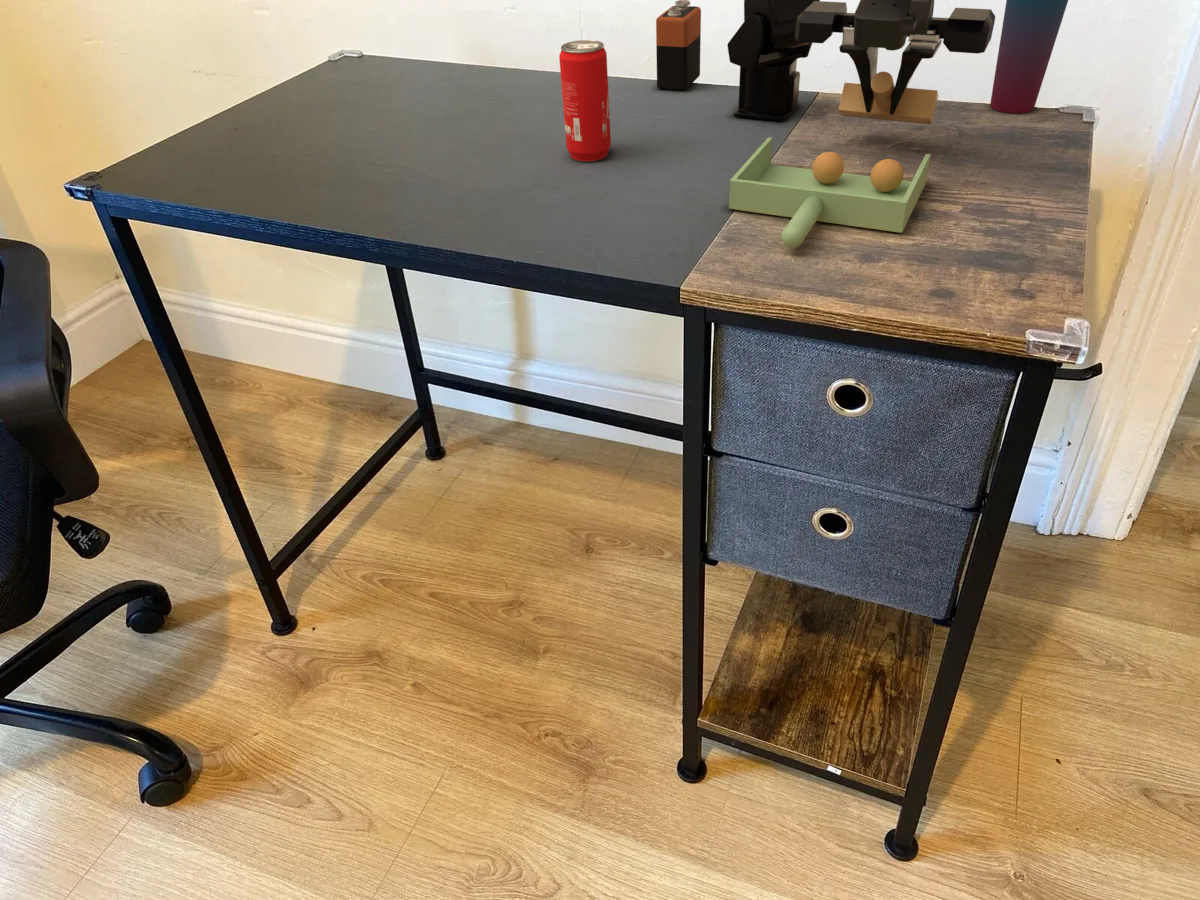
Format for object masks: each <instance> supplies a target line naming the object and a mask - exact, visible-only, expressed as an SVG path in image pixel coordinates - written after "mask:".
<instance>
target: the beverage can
mask: <svg viewBox="0 0 1200 900" xmlns="http://www.w3.org/2000/svg"><path fill="white" fill-rule="evenodd" d="M607 55H608V54H607V51H606V49H605V43H604V42H602V41H599V40H595V39H580V40H573V41H569V42H565V43H563V44H562V45H560V52H559V55H558V58H559V59H558V60H559V70H560V83H561V85H560V86H561V96H562V109H563V122H564V133H565V145H566V150H567V151H568V153H569V156H570V158H571V159H572V160H574V161H576V162H580V163H592V162H597V161H601V160H603V159H605V158H608V156H609V150H610V148H611V146H612V139H611V135H612V134H611V117H610V99H609V98H610V97H609V75H608V58H607V57H608V56H607Z"/></svg>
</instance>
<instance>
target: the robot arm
mask: <svg viewBox="0 0 1200 900" xmlns="http://www.w3.org/2000/svg"><path fill="white" fill-rule="evenodd" d="M934 8H935V0H859V2H858V4H857V7H856V9H855V12H848V5H847V1H845V2H843V1H824V0H823V1H822V0H743V22H742V24H740V27H739V28H738V29H737V30H736V32H735V33H734V34H733V36H732V37H731V39H730V40H729V42H727V52H728V59H729V62H730V64H733V65H736V66H739V82H738V83H739V84H738V106H737V108H736V109H734V111H733V116H734V117H738V118H748V119H756V120H767V121H777V122H782V121H785V120H786V119H787V117H789V115H790V114H791V113H792V112H793V111H794V110H795V108H797V106H798V105H799V93H800V81H801V72H800V71H798V70H797V64H798V59H801V58H802V59H805V58H808V57H809V55H810V51H811V48H812V45H813V44H824V43H825V42H826V41H827V40H829V39H830V38H831V37H832V36H833V34H834V33H838V34H842V40H841V41H842V42H841V45H840V46H839V52H840V53H842V54H847V55H848V56H849V58H850V59H851V60H852V61H853V64H854V66H855V69H856V72H857V75H858V79H859V84H861V89H862V94H863V98H864V103H865V108H866V112H871V110H872V107H873V102H874V94H873V91H872V88H871V80H872V78H873V77H874V76H875V75H876V74H877V73H878V72H877V71H878V60H879V59H878V58H879V49H885V50H886V51H898V50H901V49H903V47H904V46H905V45H906V41H907V38H908V42H909V43H908V44H907V46H906V47H905V49H904V50H903V51H902V53H901V60H900V66H899V70H898V73H897V78H896V81H895V83H894V86H895V88H894V92H893V96H892V99H891V106H890V114H892V115H893V114H894V113H895V111H896V109H897V107H898V105H899V102H900V100H901V98H902V96H903V94H904V92H905V90H906V88H908V86H909V84H910V82H911V79H912V78H913V75H914V74H915V72H916V70H917V68H918V66H919V65H920V64H921V62H922V60H923V59H927V60H928V59H932V58H934V57H935V55H936V54H937V52H938V50H939V49H940V47H941V45H942V43H943V45H944V46H945V48H946V49H947V50H948V52H949V53H963V54H983V53H985V52H986V50H987V48H988V46H989V44H990V43H991V40H992V35H993V31H994V26H995V21H996V14H995V13H994V12H993V10H992V8H991V9H990V8H974V7H973V8H968V7H955V8H954V9H953V11H952V12H951V14H950V15H949V17H939V16H938V17H936V16H934Z"/></svg>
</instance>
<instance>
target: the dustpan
mask: <svg viewBox="0 0 1200 900" xmlns="http://www.w3.org/2000/svg"><path fill="white" fill-rule="evenodd" d="M773 139H774V138H773V137H770V136H768V137H767V138H766V139H765V140H764V141H763V143H762V144H761V145H760V146H759V147H758V148H757V149H756V150H755V152H753V154H752V155H751V156H750V157H749V158H748V159H747V160H746V162H745V163H744V164H743V165H742V166H741V167H740V168H739V170H738V171H737V172H736V173H735V174H734V175H733V176H732V178H730V180H729V197H728V209H729V210H736V211H743V212H748V213H749V212H750V213H757V214H763V215H770V216H771V215H772V216H778V217H784V218H785V217H786V218H791V219H790V220H789V222H788V223H787V224H786V226H785V228H784V229H783V230H782V233H781V241H782V243H783V245H784V246H786V247H788V248H790V249H791V248H797V247H799V246H800V245H802V243H803V241H805V238H806V237H807V236H808V234H809V233H810V231H811V230H812V228H813V226H814V225H815V223H816V222H821V223H829V224H835V225H842V226H849V227H857V228H863V229H871V230H872V229H874V230H877V231H878V230H879V231H885V232H894V233H898V234H899V233H900V234H902V233H903V232H904V230H905V228H906V226H907V224H908V222H909V220H910V217H911V215H912V214H913V211H914V209H915V207H916V206H917V203H918V201H919V200H920V197H921V195H922V192H923V190H924V188H925V186H926V183H927V179H928V172H929V165H930V162H931V153H925V155H924V156H923V159H922V161H921V163H920V165H919V167H918V168H917V171H916V172H915V173H914V174H915V175H914V176H913V178H912V180H904V179H903V180H902V182H901V184H900V185H899V186H898V187H897V188H896V189H894V190H892V191H889V192H882V191H879V190H877V189H876V188H875V187H874V186H873V185H872V182H871V175H863V174H856V173H855V174H853V173H846V172H843V173H842V175H841V177H840V178H839V179H838V180H837V181H835V182H833V183H830V184H824V183H821V182H819V181H818V180H816V178H815V177H814V175H813V171H812V168H803V167H795V166H787V165H779V164H772V154H773Z"/></svg>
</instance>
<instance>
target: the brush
mask: <svg viewBox="0 0 1200 900" xmlns="http://www.w3.org/2000/svg"><path fill="white" fill-rule="evenodd" d="M871 88H872V91H873V94H874V102H873V107H872V110H871V112H866V108H865V103H864V98H863V94H862V89H861V84H860V83H854V82H844V83H843V87H842V92H841V96H840V100H839V105H838V109H837V110H838V112H839V114H840V116H844V117H850V118H851V117H852V118H860V119H869V120H870V119H872V120H882V121H890V122H891V121H892V122H903V123H911V124H912V123H913V124H923V125H932V123H933V119H934V115H935V112H936V107H937V104H938V99H939V92H938V90H936V89H928V88H927V89H924V88H915V87H913V88H912V87H907V88H906V90H905V92H904V94H903V96H902V98H901V100H900V102H899V105H898V107H897V109H896V111H895V113H894V114H893V115H892V114H890V106H891V99H892V96H893V92H894V88H895V82H894V78H893V76H892V74H891V73H890V72H888V71H879V72H877V73H876V75H875V76H874V77H873V78H872V80H871Z"/></svg>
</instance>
